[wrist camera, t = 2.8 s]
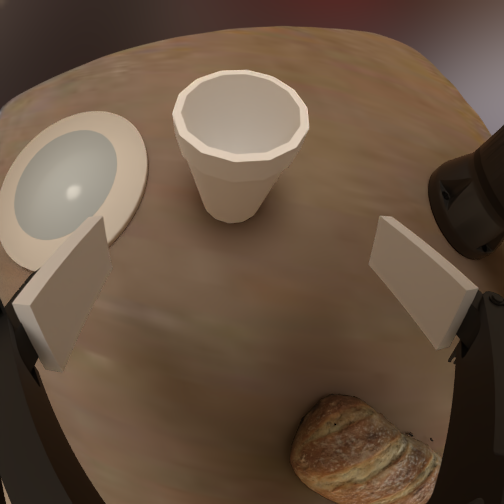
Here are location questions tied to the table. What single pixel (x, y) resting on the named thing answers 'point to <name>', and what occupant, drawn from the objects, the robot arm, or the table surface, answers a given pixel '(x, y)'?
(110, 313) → the table surface
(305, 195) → the table surface
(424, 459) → the bread loaf
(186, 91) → the foam cup
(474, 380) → the robot arm
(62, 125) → the plate
